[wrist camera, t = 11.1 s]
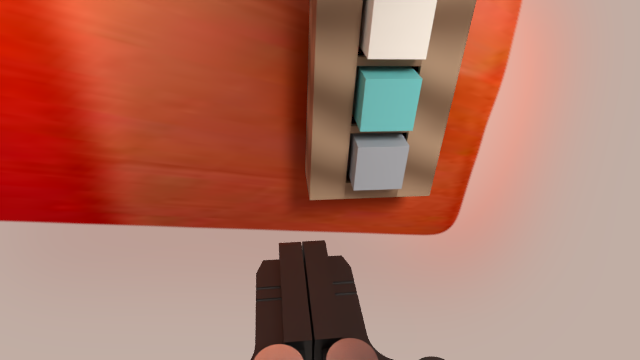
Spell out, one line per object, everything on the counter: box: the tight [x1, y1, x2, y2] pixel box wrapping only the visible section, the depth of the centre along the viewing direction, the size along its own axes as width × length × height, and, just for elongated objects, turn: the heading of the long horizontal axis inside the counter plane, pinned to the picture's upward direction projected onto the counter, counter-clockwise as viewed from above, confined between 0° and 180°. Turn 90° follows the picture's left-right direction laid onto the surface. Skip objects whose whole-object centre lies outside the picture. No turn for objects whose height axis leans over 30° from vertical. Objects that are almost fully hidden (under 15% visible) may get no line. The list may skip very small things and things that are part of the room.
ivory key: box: [359, 0, 437, 59], centre depth 31 cm, size 4×4×4 cm
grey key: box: [347, 133, 410, 191], centre depth 38 cm, size 4×4×4 cm
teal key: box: [352, 66, 422, 132], centre depth 34 cm, size 4×4×4 cm
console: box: [305, 0, 476, 200], centre depth 36 cm, size 21×12×5 cm, turn 178°
